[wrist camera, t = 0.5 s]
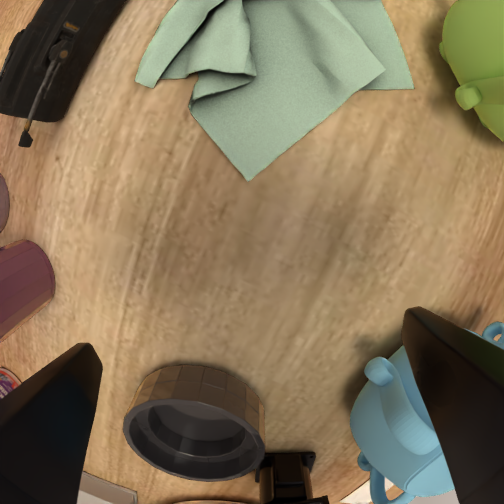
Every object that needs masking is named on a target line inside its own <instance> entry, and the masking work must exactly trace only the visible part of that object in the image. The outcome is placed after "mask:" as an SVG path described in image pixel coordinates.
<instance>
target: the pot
mask: <svg viewBox="0 0 504 504" xmlns="http://www.w3.org/2000/svg"><path fill="white" fill-rule="evenodd" d="M174 504H248V503H241V502H231V501H214V500H197V501H184V502H179V503H174Z"/></svg>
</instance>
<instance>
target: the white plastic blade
mask: <svg viewBox="0 0 504 504" xmlns="http://www.w3.org/2000/svg"><path fill="white" fill-rule="evenodd" d="M393 485H395V484H393V483H392V482H391V481H389V480H388V479H387V478H386V477H385V491H387V490H388V489H389V488H391V487H392V486H393ZM371 501H372V500H371V496H370V480H368V481H367V482H366V483H364V484H363V485H362V486H361V487H359V488H358V489H357V490H355V491H354V492H352V493H351V494H350V495H348V496H347V497H346V498H344V499H343V500H341V501H340V502H343V503H352V504H368V503H370V502H371Z"/></svg>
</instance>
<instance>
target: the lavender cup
mask: <svg viewBox="0 0 504 504" xmlns="http://www.w3.org/2000/svg"><path fill="white" fill-rule="evenodd" d="M8 214H9V194H8V189H7V185H6V182H5V180H4V178H3V176H2V175H1V174H0V232H1V231H2V230H3V228H4V226H5V224H6V222H7V219H8Z"/></svg>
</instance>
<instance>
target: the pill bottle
mask: <svg viewBox="0 0 504 504" xmlns="http://www.w3.org/2000/svg"><path fill="white" fill-rule="evenodd" d="M20 384H21V382H20V381H19V379H18V378H17V377H16V376H15V375H14V374H13V373H11V372H10V371H8V370H7V369H4V368H1V369H0V399H1V398H3V397H4V396H5V395H7V394H8V393H10V392H11V391H12V390H14V389H15V388H16V387H18V386H19V385H20Z"/></svg>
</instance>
